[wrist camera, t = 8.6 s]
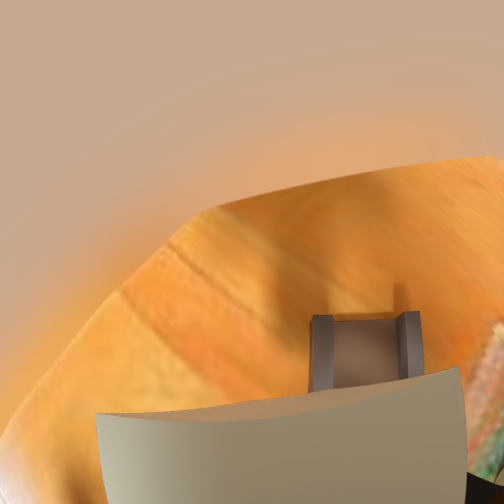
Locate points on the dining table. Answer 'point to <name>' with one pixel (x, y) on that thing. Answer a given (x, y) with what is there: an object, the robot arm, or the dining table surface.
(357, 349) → the floor track
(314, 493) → the white rectangular block
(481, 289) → the dining table surface
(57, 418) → the dining table surface
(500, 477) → the can
